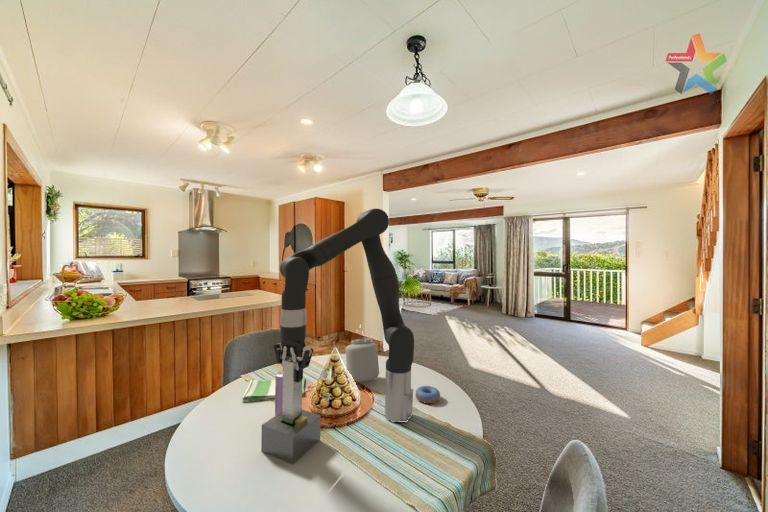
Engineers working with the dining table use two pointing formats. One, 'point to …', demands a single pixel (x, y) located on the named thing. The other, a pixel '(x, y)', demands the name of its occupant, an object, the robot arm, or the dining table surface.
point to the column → (291, 393)
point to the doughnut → (427, 394)
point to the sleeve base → (290, 436)
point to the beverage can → (278, 392)
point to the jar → (362, 360)
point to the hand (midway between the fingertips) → (292, 379)
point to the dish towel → (262, 390)
